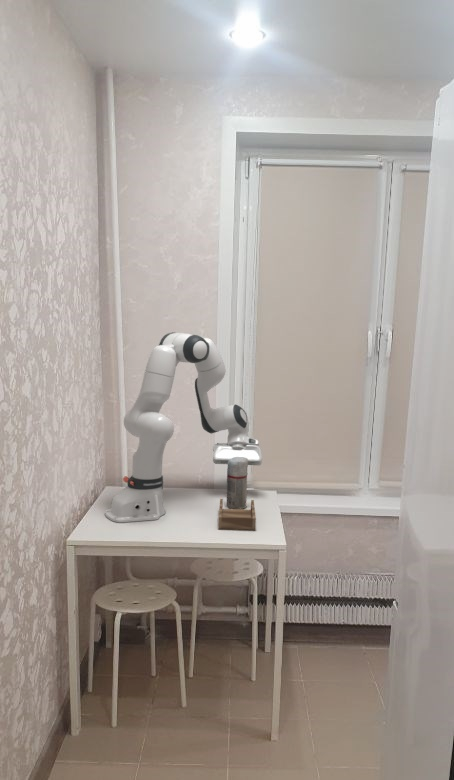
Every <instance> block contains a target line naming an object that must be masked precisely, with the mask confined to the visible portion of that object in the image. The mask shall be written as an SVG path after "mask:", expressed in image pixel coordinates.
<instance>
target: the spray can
mask: <svg viewBox="0 0 454 780" xmlns="http://www.w3.org/2000/svg"><path fill="white" fill-rule="evenodd" d="M248 466H249V465H248V459H247V458H244V457H239V456H235V457H233V458H232V459H231V460H229V461H228V464H227V472H226V507H227V509H246V508H247V492H248V490H247V489H248V487H247V485H248V474H249V473H248Z"/></svg>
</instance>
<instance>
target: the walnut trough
mask: <svg viewBox="0 0 454 780" xmlns="http://www.w3.org/2000/svg"><path fill="white" fill-rule="evenodd" d="M223 502H224V499H223V498H220V499H219V508H218V509H219V511H218V524H217V526H218V529H217V530H221V531H248V532H249V531H250V532H252V531H253V532H256V520H257V519H256V510H255V507H256V506H255V500H254V499H250V509H246V508H243V509H231V508H224V507H223V506H224V505H223V504H224V503H223Z"/></svg>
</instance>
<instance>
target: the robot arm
mask: <svg viewBox="0 0 454 780" xmlns="http://www.w3.org/2000/svg"><path fill="white" fill-rule="evenodd" d="M179 363H191V364H194V366H195V368H196V371H197V377H196V378H195V380H194V390H195V391H194V392H195V396H196V400H197V404H198V409H199V413H200V414H199V415H200V422H201V426H202V427H201V428H202V429H203V430H204V431H205V432H207V433H209V434H212V435H213V434H214V433H219V432H222V431H226V430H227V432H228V435H227V442H226V443H222V442H221V443H220V442H217V443H215V444H213V445H212V451H213V456H212V457H213V458H212V462H213V463H214V464H215V465H228V461H229V460H231V459H232V458H233V457H235V456H239V457H244V458H247V459H248V466H261V465H262V464H263V453H262V450H261V447H260V442H259V440H258V439H256V438H252V437H249V419H248V418H249V417H248V413H247V412H246V411H245V409H244V408H242V407H241V406H240V405H238V404H231V405H230V404H229V405H225V406H221V407H216V408H213V407H211V405H210V400H209V396H208V392H210V390H211V389H213V388H215V387H216V386H217V385H219V384H220V383H221V382H222V381H223V380H224V377H225V375H226V366H225V362H224V360H223V357H222V355H221V353H220V350H219V349H218V347H217V346H216V344H215V343H214V341H213V340H212V339H210V338H209V337H203V336H200V335H198V334H191V333H188V332H187V333H186V332H175V331H174V332H168V333H166V334H165V335H163V337H162V338H161V339H160V341H159V343H158V345H157V346H154V347H153V348H152V350H151V352H150V354H149V357H148V360H147V363H146V366H145V370H144V374H143V379H142V383H141V387H140V391H139V393H138V396H137V398H136V399H135V402H134V403H133V406H132V407H131V409H130V410H129V411H127V412H126V413H125V414H124V417H123V427H124V428H125V430H126V431H127V432H128V433H129V434H131V435H132V436H134V437H136V438H138V439H139V442H138V446H137V449H136V451H135V452H134V453H133V455H132V466H131V467H132V474H131V476H124V477H123V478H122V480H123V482H125V483H127V486H125V488H124V489H122V490H121V491H120V492H118V493H117V494H116V495H115V496H114V497H113V498H112V501H111V506H110V508H108V509H105V510H104V516H105V517H106V518H107V519H108V520H110V521H112V522H114V523H129V522H143V521H154V520H155V521H157V520H159V519H160V517H162V516H163V515H165V514H166V509H165V505H164V499H163V489H164V476H163V458H164V457H163V456H164V452H165V449H166V445H167V443H168V441H170V439H171V438H172V436H174V430H175V426H174V423H173V421H172V420H171V419H170V418H168V417H167V416H166V415H165V414H163V413H160V411H161V409H162V407H163V405H164V404H165V403H166V402H167V401H168V400H169V399H170V396H171V392H172V389H173V385H174V379H175V374H176V368H177V366H178V365H179Z"/></svg>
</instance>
